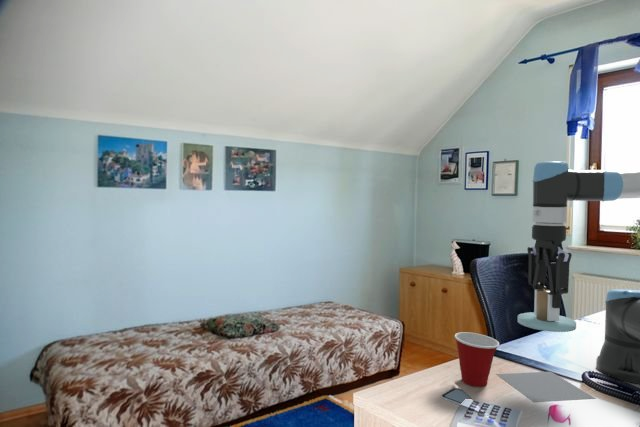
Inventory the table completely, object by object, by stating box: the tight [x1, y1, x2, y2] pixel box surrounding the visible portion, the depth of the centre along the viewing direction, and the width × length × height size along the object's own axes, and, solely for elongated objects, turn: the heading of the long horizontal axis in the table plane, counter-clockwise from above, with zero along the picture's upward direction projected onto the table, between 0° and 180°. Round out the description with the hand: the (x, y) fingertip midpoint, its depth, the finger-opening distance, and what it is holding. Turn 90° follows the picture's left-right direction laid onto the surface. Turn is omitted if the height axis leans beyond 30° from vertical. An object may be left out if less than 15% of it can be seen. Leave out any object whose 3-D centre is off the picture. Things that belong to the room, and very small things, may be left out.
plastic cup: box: [454, 331, 500, 388], centre depth 112 cm, size 11×11×12 cm
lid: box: [517, 289, 577, 333], centre depth 110 cm, size 13×13×8 cm
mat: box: [495, 371, 597, 403], centre depth 111 cm, size 16×16×1 cm
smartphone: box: [440, 387, 473, 406], centre depth 102 cm, size 7×1×15 cm
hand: (546, 317), depth 110 cm, fingers closed on lid, 4 cm apart
